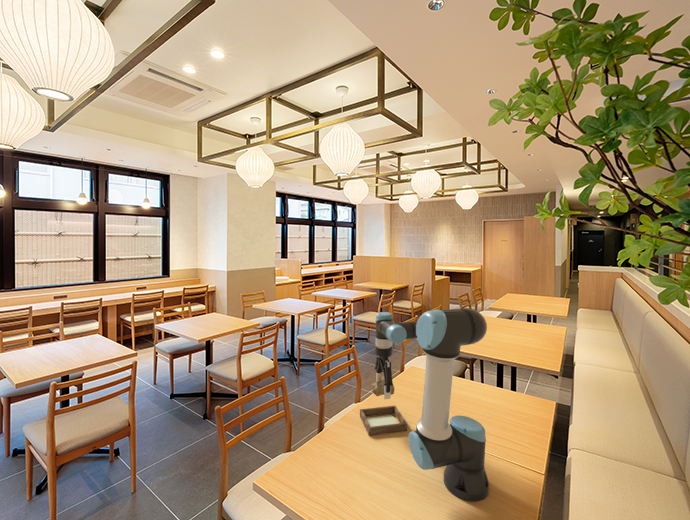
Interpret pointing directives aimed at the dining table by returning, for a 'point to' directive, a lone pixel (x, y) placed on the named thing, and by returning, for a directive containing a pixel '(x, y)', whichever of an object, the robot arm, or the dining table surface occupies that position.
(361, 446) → the dining table surface
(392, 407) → the brown wooden tray
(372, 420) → the pad
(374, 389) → the rock
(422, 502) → the dining table surface
